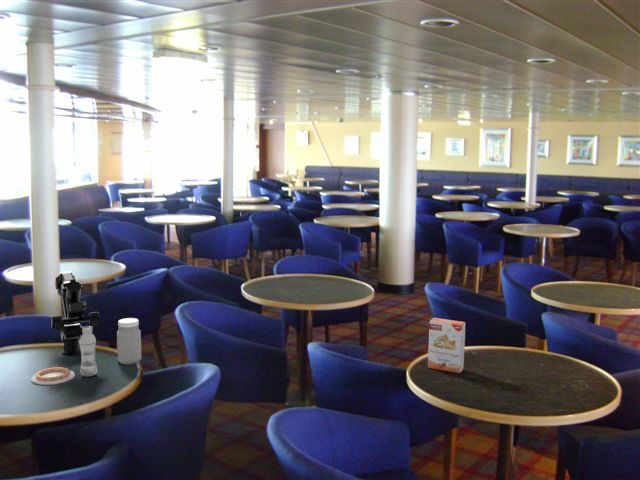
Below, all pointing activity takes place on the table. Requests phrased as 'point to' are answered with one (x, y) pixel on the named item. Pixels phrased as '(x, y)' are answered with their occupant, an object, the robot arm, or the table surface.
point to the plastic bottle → (88, 352)
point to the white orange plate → (53, 376)
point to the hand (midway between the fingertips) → (78, 337)
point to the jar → (128, 341)
